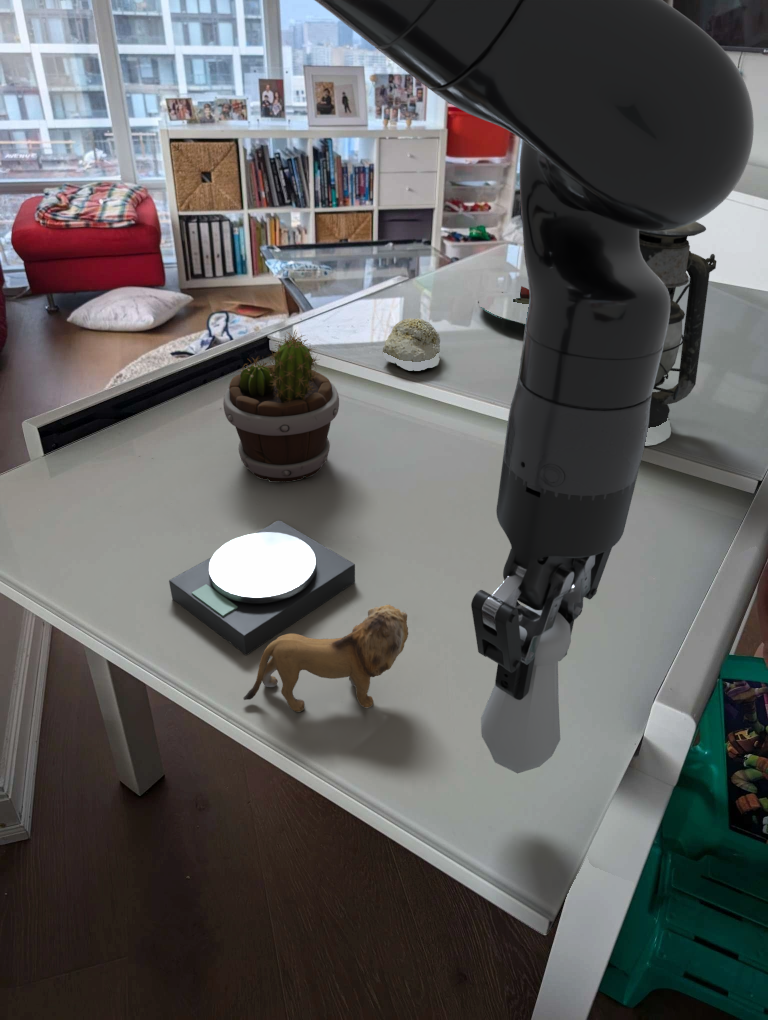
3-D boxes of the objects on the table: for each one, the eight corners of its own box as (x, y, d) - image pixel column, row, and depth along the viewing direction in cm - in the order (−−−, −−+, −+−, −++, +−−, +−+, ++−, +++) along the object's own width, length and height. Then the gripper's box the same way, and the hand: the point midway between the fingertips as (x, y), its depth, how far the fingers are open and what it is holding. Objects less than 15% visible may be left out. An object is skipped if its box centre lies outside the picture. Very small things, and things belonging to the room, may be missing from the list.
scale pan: (256, 619, 72) (256, 613, 72) (187, 570, 78) (186, 564, 78) (338, 567, 79) (338, 561, 78) (268, 525, 85) (268, 519, 84)
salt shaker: (537, 796, 54) (566, 664, 46) (464, 760, 56) (481, 629, 49) (566, 740, 58) (597, 611, 51) (497, 709, 60) (517, 581, 53)
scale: (246, 655, 72) (243, 634, 71) (171, 598, 79) (168, 578, 77) (355, 582, 81) (355, 562, 80) (280, 537, 88) (279, 518, 86)
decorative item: (374, 325, 134) (427, 302, 132) (394, 370, 138) (445, 348, 136) (373, 342, 123) (430, 318, 122) (394, 390, 127) (450, 367, 125)
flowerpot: (211, 455, 103) (193, 312, 92) (310, 428, 110) (305, 293, 99) (255, 506, 93) (241, 353, 82) (362, 473, 100) (362, 327, 89)
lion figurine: (399, 661, 72) (402, 587, 67) (412, 703, 67) (417, 628, 62) (242, 682, 69) (233, 608, 64) (245, 728, 65) (236, 652, 60)
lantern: (563, 444, 108) (601, 225, 91) (548, 388, 124) (577, 192, 107) (697, 450, 107) (759, 230, 90) (664, 392, 123) (712, 196, 106)
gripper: (576, 397, 49) (540, 599, 59) (440, 478, 40) (423, 700, 50) (687, 435, 45) (628, 646, 55) (562, 534, 36) (518, 765, 46)
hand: (530, 671), depth 52 cm, fingers closed on salt shaker, 4 cm apart
